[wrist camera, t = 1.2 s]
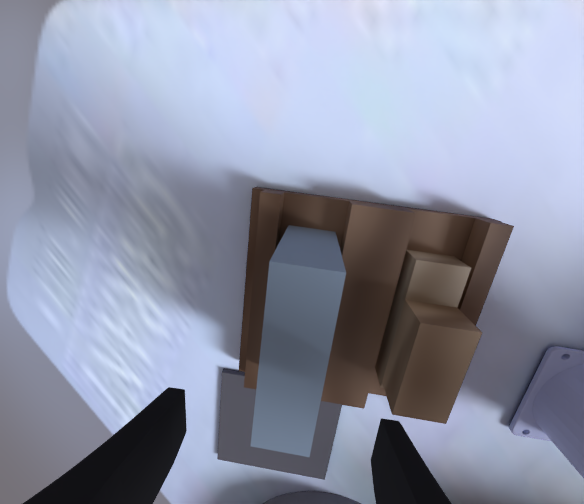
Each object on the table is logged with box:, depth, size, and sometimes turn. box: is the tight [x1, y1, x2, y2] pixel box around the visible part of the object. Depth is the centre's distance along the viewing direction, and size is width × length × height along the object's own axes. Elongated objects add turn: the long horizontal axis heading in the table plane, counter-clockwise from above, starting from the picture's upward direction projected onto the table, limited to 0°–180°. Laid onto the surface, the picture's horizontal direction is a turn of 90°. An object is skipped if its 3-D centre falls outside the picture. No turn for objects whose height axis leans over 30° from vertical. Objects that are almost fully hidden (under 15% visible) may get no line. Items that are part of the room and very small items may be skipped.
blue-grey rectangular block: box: [251, 225, 346, 457], centre depth 15 cm, size 3×10×7 cm, turn 173°
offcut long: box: [375, 250, 471, 388], centre depth 17 cm, size 3×9×2 cm, turn 173°
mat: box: [218, 369, 342, 480], centre depth 23 cm, size 10×10×1 cm
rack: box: [239, 187, 514, 408], centre depth 18 cm, size 15×14×2 cm
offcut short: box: [382, 300, 482, 424], centre depth 15 cm, size 3×6×2 cm, turn 173°
